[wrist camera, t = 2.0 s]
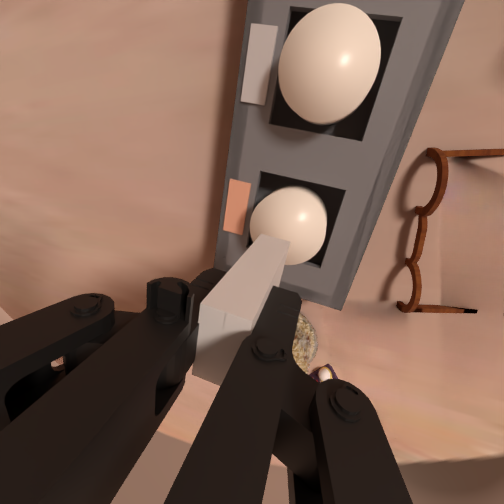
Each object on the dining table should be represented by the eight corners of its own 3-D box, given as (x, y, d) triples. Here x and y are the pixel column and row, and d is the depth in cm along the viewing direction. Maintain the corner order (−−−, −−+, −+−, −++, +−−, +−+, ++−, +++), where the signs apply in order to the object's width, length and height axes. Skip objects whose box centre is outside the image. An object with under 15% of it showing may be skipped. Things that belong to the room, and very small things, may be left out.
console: (309, -259, 14) (299, -413, 10) (555, -284, 11) (662, -492, 8) (229, 253, 26) (212, 271, 22) (340, 286, 24) (341, 312, 20)
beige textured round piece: (237, 283, 27) (217, 311, 23) (331, 315, 26) (330, 354, 21) (222, 351, 32) (202, 387, 27) (302, 383, 30) (296, 428, 25)
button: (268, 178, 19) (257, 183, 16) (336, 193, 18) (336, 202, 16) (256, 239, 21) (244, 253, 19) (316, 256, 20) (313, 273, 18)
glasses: (411, 147, 21) (432, 148, 16) (632, 140, 17) (736, 138, 13) (385, 291, 26) (396, 322, 21) (554, 308, 22) (610, 349, 18)
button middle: (298, 25, 16) (290, -2, 13) (385, 35, 15) (398, 8, 12) (280, 118, 18) (269, 112, 15) (355, 131, 17) (359, 128, 14)
